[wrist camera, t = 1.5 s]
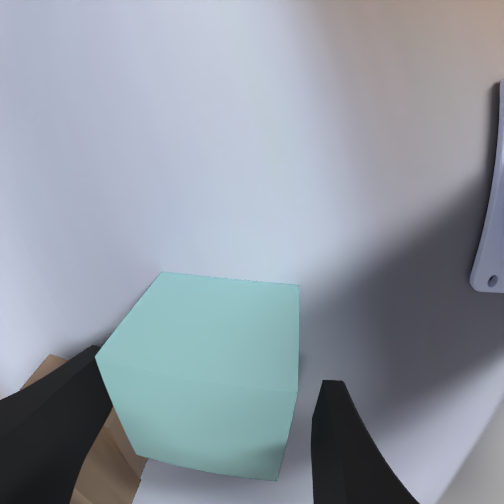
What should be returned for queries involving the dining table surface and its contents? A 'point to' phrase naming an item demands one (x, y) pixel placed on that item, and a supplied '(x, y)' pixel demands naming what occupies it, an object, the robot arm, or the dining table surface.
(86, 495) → the slab upper
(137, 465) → the brown wooden block
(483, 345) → the dining table surface
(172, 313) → the cube
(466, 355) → the dining table surface
